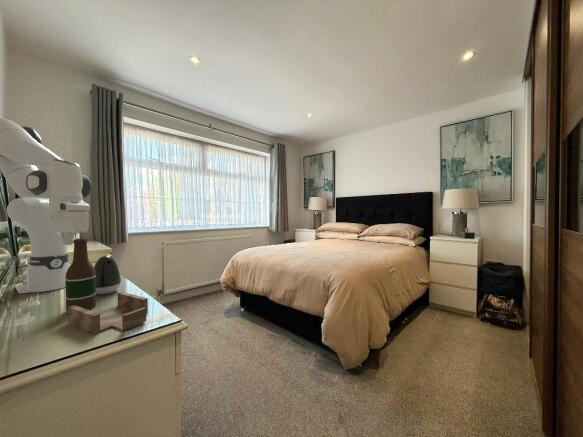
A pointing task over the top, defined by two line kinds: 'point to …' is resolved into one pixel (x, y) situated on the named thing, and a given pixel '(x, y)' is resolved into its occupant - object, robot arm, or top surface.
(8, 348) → the top surface
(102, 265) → the dark grey oval piece
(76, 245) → the beer bottle
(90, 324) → the u rest
